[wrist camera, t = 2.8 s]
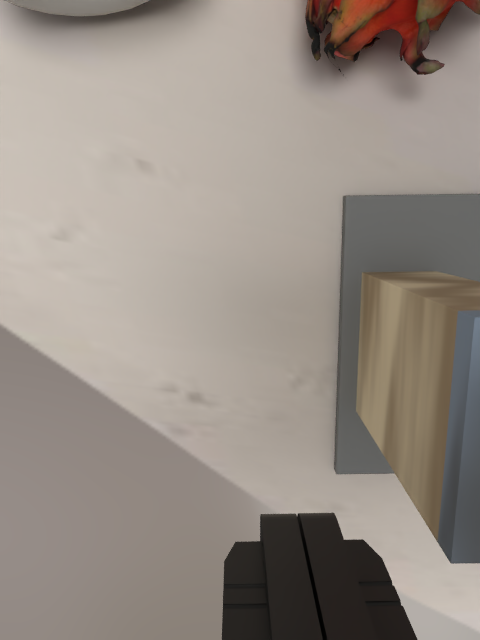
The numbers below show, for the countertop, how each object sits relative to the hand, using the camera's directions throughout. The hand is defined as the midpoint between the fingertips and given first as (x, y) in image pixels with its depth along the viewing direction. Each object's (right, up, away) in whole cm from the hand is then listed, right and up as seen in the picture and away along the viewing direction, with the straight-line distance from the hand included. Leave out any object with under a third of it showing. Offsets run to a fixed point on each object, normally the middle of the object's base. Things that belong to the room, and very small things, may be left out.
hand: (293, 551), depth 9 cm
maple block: (+8, +3, +16) cm, 18 cm away
